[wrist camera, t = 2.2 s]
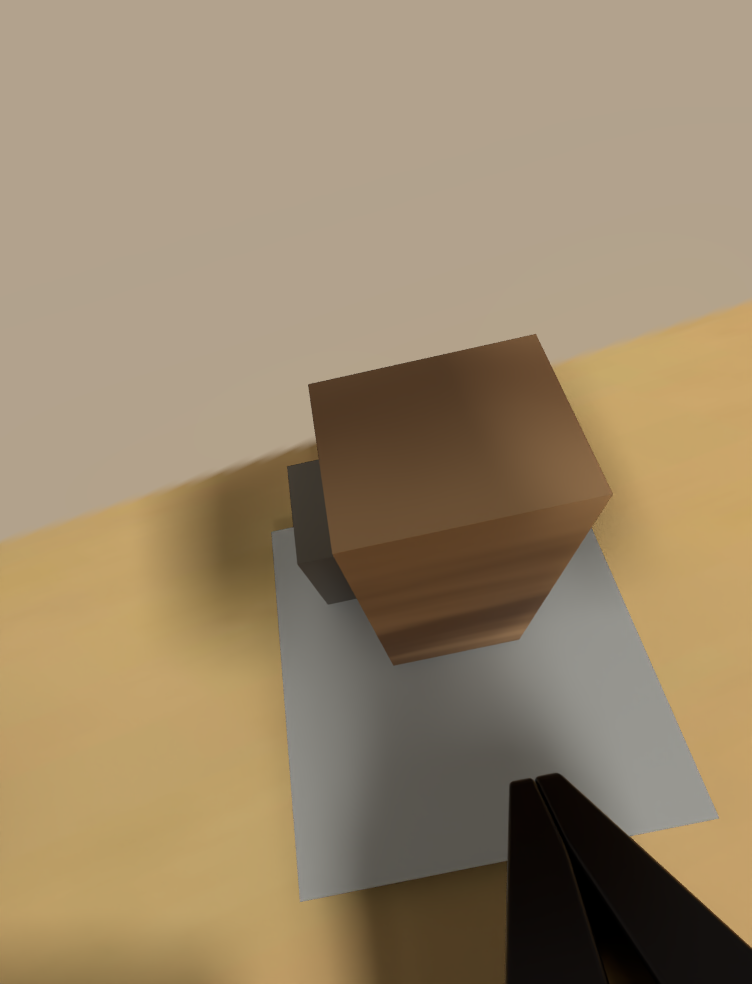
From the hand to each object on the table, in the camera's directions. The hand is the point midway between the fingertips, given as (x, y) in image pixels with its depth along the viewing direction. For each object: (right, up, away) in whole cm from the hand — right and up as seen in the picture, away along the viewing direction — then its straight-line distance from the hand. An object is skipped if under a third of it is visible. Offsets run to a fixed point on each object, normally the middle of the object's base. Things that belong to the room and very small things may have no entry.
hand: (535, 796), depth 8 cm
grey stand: (+1, -2, +12) cm, 12 cm away
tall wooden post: (0, 0, +12) cm, 12 cm away
